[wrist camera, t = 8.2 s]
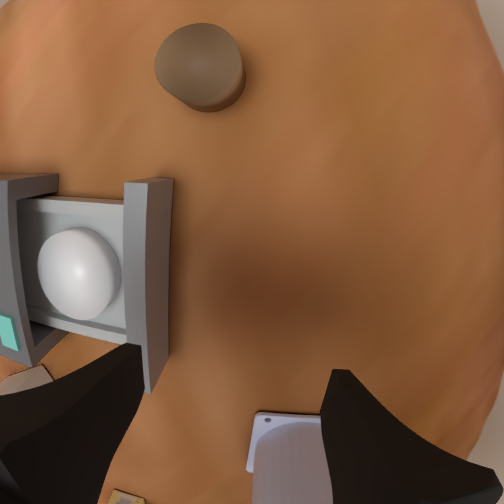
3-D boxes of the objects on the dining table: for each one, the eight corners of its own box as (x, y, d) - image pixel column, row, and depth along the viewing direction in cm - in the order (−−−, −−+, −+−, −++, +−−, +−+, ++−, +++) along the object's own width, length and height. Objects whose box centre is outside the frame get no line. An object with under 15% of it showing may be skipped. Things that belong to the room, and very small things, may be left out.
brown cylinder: (249, 50, 16) (243, 23, 12) (241, 114, 17) (234, 101, 13) (181, 49, 16) (161, 24, 12) (173, 111, 17) (149, 99, 13)
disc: (49, 223, 18) (34, 228, 17) (120, 231, 18) (108, 237, 16) (55, 301, 20) (42, 310, 18) (122, 316, 19) (112, 328, 18)
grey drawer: (173, 178, 18) (147, 183, 14) (168, 357, 21) (150, 394, 17) (5, 173, 18) (-34, 179, 14) (18, 319, 22) (-12, 341, 17)
